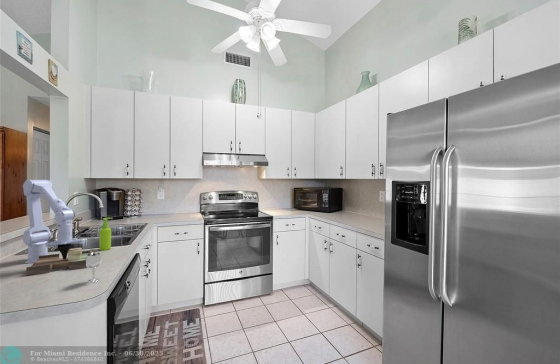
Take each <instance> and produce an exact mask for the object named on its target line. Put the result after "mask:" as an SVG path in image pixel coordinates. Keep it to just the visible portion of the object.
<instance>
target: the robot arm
mask: <svg viewBox="0 0 560 364" xmlns="http://www.w3.org/2000/svg"><path fill="white" fill-rule="evenodd" d="M53 185H54V184H53V183H52V181H51V180H50V179H26V180H25V181H24V182H23V185H22V189H23V195H24V196H25V197H26V203H27V211H28V218H29V228H27V229H26V230H24V232H23V238H22V241H23V244H25V245H26V246H27V260H26V261H25V262H24V264H31V263H32V264H34V263H35V262H36V261H37V260H38V259H39V256H42V255H49V253H48V251H49V249H48V248H49V247H55V246H56V247H57V249H58V251H59V252H60V254H61V258H63V259H66V258H68V251H69V250H70V249H71V246H72V245H78V244H79V245H82V244H83V243H84V239H83V238H82V239H80V238H79V239H73V220H75V218H76V212H75V210H74V209H73V208H70V207H68V206H67V205H66V203H65V202H64V201H63V200H62V199H60V198H58V197H57V195H56V193H55V191H54V190H53ZM42 196H44V198H45V199H46V200H48V202H49V203H48V206H49V208H50V209H51V210H52V211H53V213H54V214H55V215H54V219H55V223H56V225H57V241H56V240H54V241H51V239H52V232H51V231H50V227H48V226H45V225H44V219H43V210H42V200H41V197H42Z"/></svg>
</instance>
